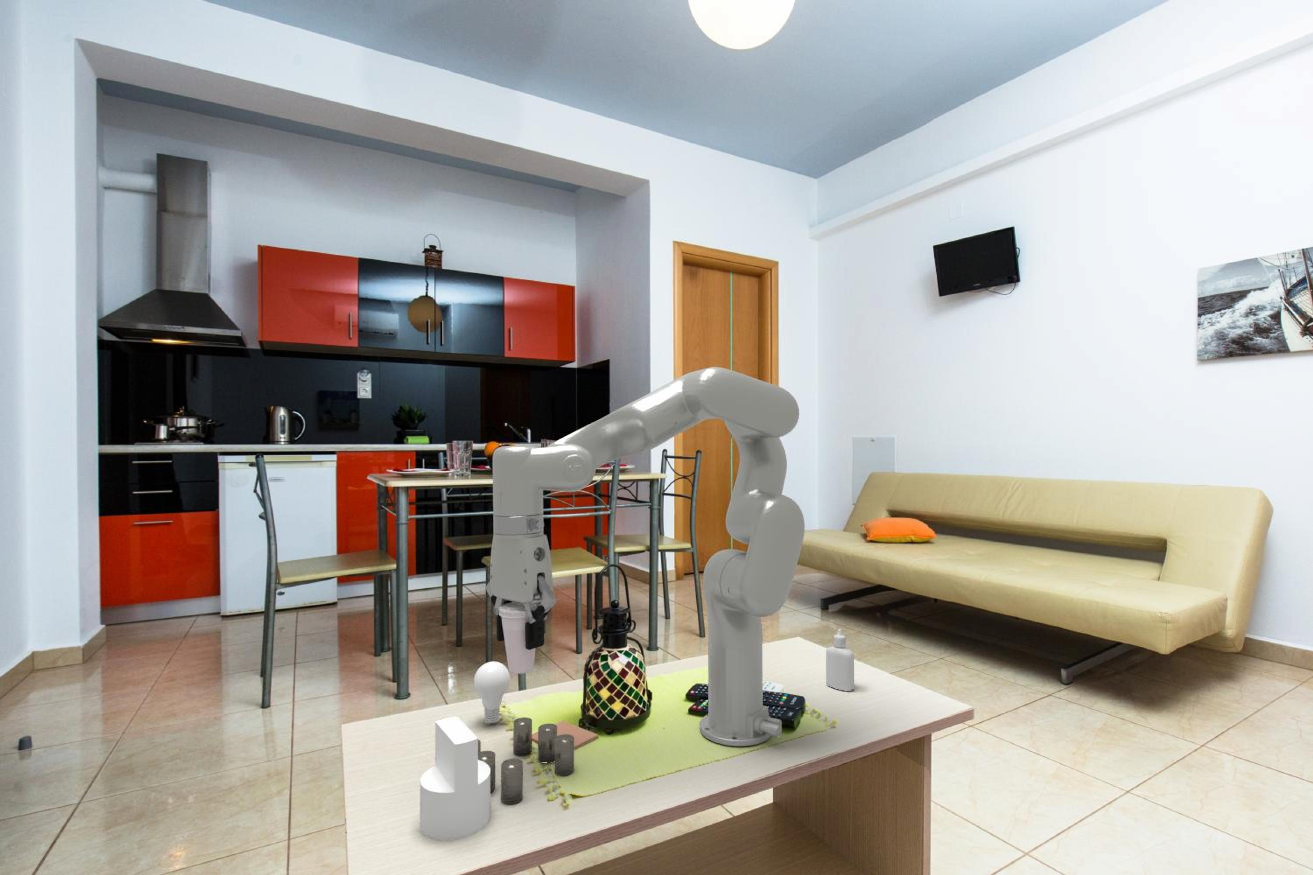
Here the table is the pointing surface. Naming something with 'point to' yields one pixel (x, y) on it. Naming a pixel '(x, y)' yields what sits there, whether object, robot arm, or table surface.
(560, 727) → the tile
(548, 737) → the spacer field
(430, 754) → the table surface
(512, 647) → the smoothie
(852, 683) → the eye dropper bottle
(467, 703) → the table surface
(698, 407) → the robot arm
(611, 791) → the table surface
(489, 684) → the lightbulb
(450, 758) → the base with upright slab
